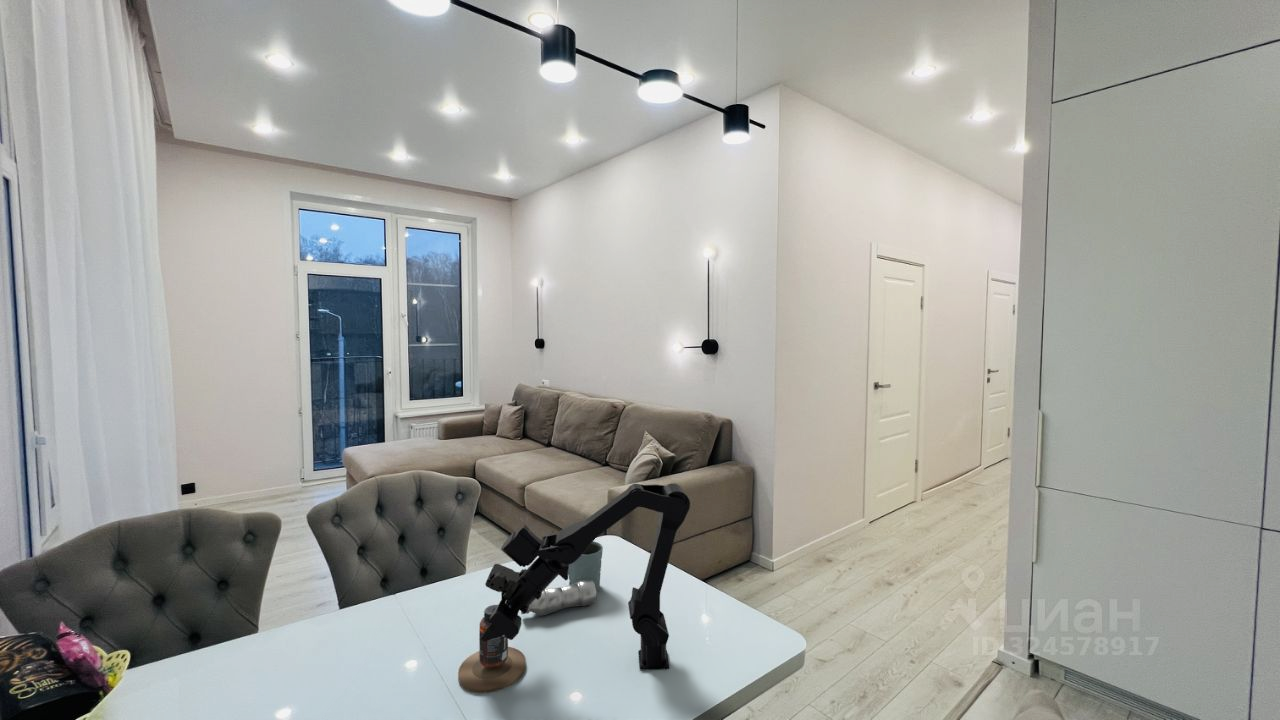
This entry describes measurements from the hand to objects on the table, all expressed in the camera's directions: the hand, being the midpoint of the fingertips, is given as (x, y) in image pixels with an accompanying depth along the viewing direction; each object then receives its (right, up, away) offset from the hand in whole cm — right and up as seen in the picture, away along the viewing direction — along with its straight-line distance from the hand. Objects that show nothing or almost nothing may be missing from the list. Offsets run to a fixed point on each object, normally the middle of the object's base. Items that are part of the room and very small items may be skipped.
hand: (486, 631), depth 111 cm
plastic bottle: (+21, -4, +29) cm, 36 cm away
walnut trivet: (+1, -9, 0) cm, 9 cm away
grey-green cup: (+18, -7, +36) cm, 41 cm away
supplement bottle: (+1, -7, 0) cm, 7 cm away
